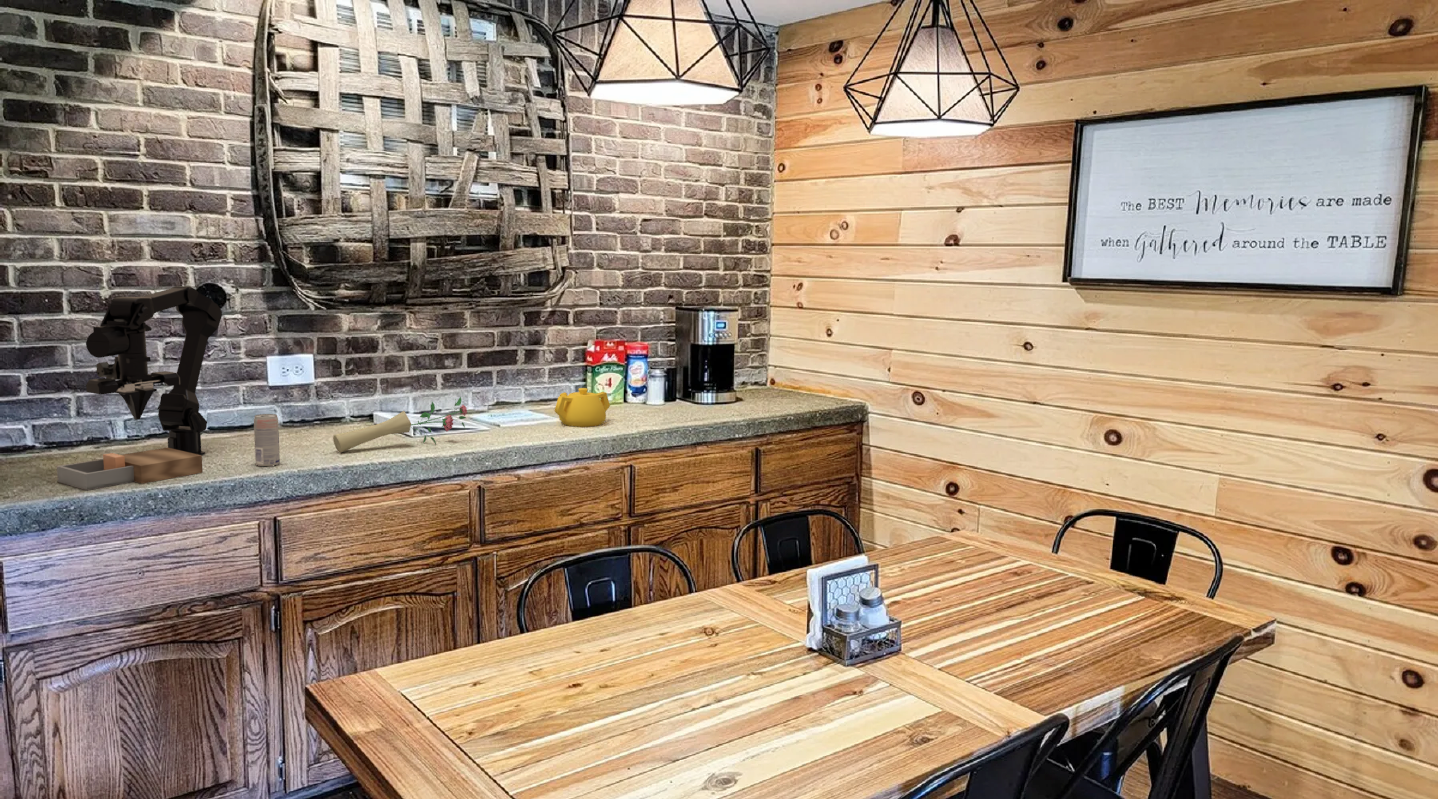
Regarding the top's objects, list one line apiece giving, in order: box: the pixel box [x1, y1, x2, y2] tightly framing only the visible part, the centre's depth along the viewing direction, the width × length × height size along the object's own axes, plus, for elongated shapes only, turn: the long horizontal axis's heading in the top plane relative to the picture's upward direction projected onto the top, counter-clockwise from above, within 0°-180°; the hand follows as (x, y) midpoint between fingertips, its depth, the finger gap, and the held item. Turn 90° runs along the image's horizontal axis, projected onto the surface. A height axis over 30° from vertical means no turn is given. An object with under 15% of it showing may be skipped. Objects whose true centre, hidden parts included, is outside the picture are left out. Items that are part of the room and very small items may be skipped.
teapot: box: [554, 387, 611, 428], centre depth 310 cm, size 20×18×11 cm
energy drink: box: [253, 413, 281, 467], centre depth 242 cm, size 5×5×12 cm
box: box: [56, 458, 135, 491], centre depth 221 cm, size 10×12×4 cm
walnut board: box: [121, 446, 204, 484], centre depth 230 cm, size 14×14×4 cm
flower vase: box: [332, 396, 468, 454], centre depth 268 cm, size 12×12×35 cm
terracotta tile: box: [102, 452, 125, 470], centre depth 223 cm, size 5×5×2 cm
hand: (137, 419), depth 233 cm, fingers closed
